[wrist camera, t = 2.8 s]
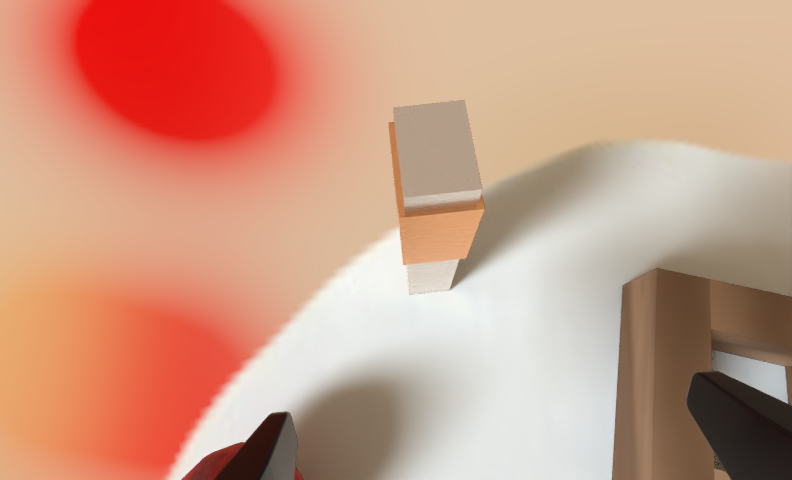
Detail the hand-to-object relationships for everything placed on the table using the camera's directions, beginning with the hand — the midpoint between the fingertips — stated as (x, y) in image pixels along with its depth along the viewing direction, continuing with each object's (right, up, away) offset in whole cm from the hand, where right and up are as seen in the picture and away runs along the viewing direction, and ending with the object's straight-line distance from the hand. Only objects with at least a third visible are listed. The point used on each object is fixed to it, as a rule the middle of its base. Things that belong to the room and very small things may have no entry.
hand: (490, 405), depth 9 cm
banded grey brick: (0, +2, +15) cm, 16 cm away
